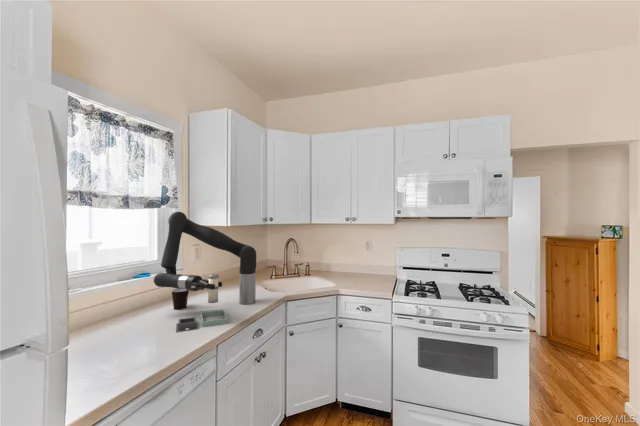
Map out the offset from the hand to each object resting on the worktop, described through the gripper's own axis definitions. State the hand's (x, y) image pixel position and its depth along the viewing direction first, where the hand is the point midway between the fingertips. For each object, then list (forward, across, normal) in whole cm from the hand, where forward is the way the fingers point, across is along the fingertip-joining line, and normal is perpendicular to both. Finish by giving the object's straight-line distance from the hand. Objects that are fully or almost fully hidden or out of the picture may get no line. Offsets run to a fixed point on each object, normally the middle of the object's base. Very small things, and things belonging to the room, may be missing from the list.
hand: (218, 285), depth 140 cm
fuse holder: (-8, -11, +18) cm, 22 cm away
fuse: (-3, 0, +8) cm, 8 cm away
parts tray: (-2, 0, +18) cm, 18 cm away
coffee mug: (-35, +13, +18) cm, 41 cm away
